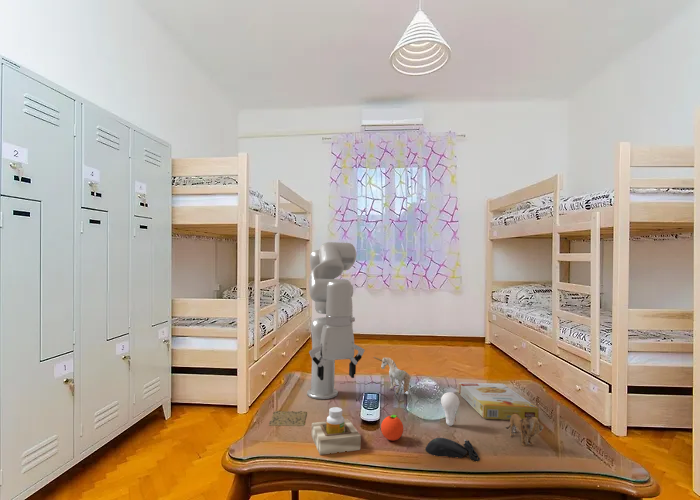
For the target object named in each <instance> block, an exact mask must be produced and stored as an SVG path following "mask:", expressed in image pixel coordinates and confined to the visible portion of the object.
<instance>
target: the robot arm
mask: <svg viewBox="0 0 700 500" xmlns="http://www.w3.org/2000/svg"><path fill="white" fill-rule="evenodd" d="M356 260H357V251H356V247H355V245H354V244H352V243H351V242H338V241H337V242H336V241H335V242H334V241H328V242H325V243H323V244H322V245H320V246H319V249H316V250H313V251H312V252H311V253H310V254H309V265H310V269H311V272H310V274H309V278H308V289H309V292H308V293H309V296H310V299H311V300H312V301H314V308H315V309H314V310H315V311H316V313H318V314H321V315H325V317H317V318H314V319H313V320H312V321H311V323H310V332H311V333H310V334H311V347H312V348H311V349H310V350H309V351H308V353H309V355H310V358H311V382H310V383H311V385H310V386H311V387H310V388H309V389H308V390H307V391H306V392H307V393H306V395H307V396H308V397H309V398H311V399H315V400H328V399H329V400H330V399H333V398H335V397H337V396H338V390H337V389H336V388H335V370H336V369H335V368H336V367H335V365H336V364H335V362H336V361H338V360H349V361H350V362H349V368H348V369H349V370H348V375H349V377H350V378H351V379H354V378H355V375H356V374H357V373H356V372H357V365H358V362H359V361H360V360H361V359H362V356H363V355H364V352H365V351H366V350H365V348H363V347H361V346H359V345H357V344H355V337H354V329H353V324H354V323H353V322H356V321H355V319H356V318H355V317H353V295H354V286H353V284H352V283H351V281H350V280H348V279H345V278H338V277H340V276H341V275H342V274H343V271H349V270H350V269H351V268H352V266H353V265H354V264H355V262H356ZM355 350H356V351H357V353H356V355H355Z"/></svg>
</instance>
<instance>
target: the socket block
mask: <svg viewBox="0 0 700 500" xmlns="http://www.w3.org/2000/svg"><path fill="white" fill-rule="evenodd" d="M326 425H327V420H326V421H318V422H312V423H311V434H310V435H311V438H312V440H313V443H314V445H315V447H316V450H317V451H318V452H317V453H318V454H319V455H320V456H323V455H330V453H331V454H337V452H339V453H346V452H345V451H347V452H353V451H360V450H361V444H362V443H361V441H362V440H361V438H362V437H361V436H362V435H361V434H360V433H359V431H358V430H357V429H356V427H355V426H354V425H353V423H352V422H351V420H349V419H348V418H346V419H345V418H344V432H343V433H334V434H327V432H326Z"/></svg>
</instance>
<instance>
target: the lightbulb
mask: <svg viewBox="0 0 700 500" xmlns="http://www.w3.org/2000/svg"><path fill="white" fill-rule="evenodd" d="M440 404H441V406H442V409H443V411H444V416H445V423H446V425H447V426H450V427H452V426H453V425H454V423H455V418H456V413H457V411H458V409H459V406H460V404H461V403H460V399H459V396H458V395H457V394H456V393H454V392H450V391H448V392H445V393H444V394H442V396H441V397H440Z"/></svg>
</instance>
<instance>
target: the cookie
mask: <svg viewBox="0 0 700 500" xmlns="http://www.w3.org/2000/svg"><path fill="white" fill-rule="evenodd" d="M307 412H308V411H302V410H300V411H293V410H292V411H284V410H283V411H282V410H277V411H276V410H275V411H274V412H273V414H272V416H271V419H270V421H269V423H268V426H270V427H274V426H275V427H304V426H305V425H306V419H307V414H308V413H307Z"/></svg>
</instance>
